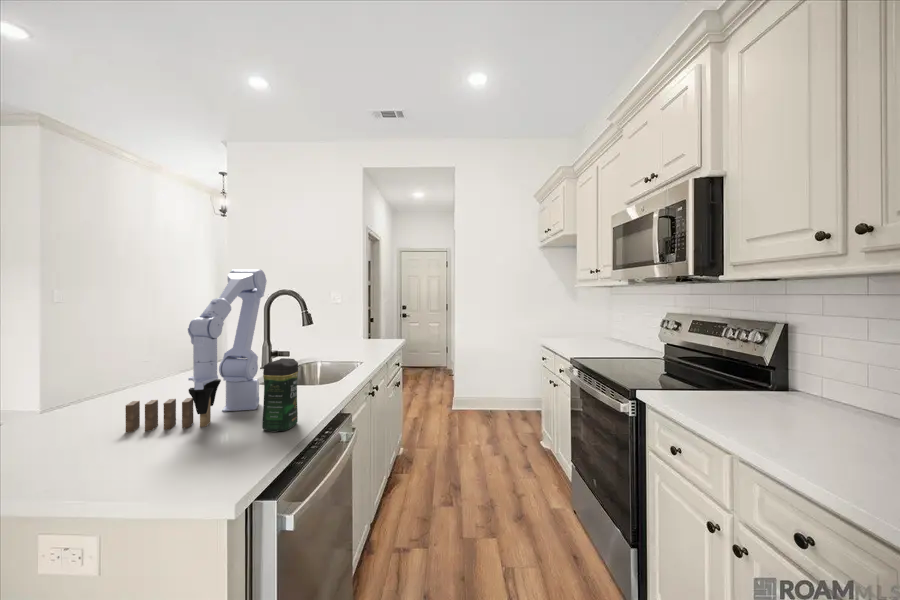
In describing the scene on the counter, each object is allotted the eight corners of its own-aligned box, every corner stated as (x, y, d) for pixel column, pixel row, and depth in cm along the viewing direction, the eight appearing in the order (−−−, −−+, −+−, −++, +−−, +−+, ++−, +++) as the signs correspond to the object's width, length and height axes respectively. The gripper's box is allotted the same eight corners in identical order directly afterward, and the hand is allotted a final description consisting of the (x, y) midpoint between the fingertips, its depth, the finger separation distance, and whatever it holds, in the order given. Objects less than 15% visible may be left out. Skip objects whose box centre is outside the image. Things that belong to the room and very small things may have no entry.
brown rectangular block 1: (158, 425, 116) (158, 399, 116) (152, 430, 111) (151, 404, 111) (151, 425, 115) (151, 400, 115) (144, 431, 111) (144, 404, 111)
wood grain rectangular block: (139, 426, 114) (139, 400, 114) (132, 431, 110) (132, 405, 110) (132, 427, 114) (132, 401, 114) (125, 432, 110) (125, 405, 110)
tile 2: (193, 422, 118) (193, 397, 118) (188, 427, 114) (188, 401, 114) (186, 423, 118) (186, 398, 118) (182, 428, 114) (181, 402, 113)
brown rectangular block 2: (175, 423, 117) (175, 398, 117) (170, 429, 113) (170, 402, 113) (169, 424, 117) (169, 399, 116) (163, 429, 112) (163, 403, 112)
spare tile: (210, 421, 120) (210, 396, 119) (206, 426, 115) (206, 400, 115) (204, 421, 119) (204, 397, 119) (199, 426, 115) (199, 401, 115)
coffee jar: (287, 433, 111) (287, 362, 110) (257, 432, 111) (258, 361, 111) (302, 422, 120) (302, 356, 120) (274, 421, 121) (275, 356, 120)
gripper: (196, 357, 123) (196, 403, 123) (180, 366, 109) (181, 418, 109) (223, 356, 125) (223, 402, 125) (211, 365, 111) (211, 416, 111)
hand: (205, 409), depth 117 cm, fingers open, 7 cm apart
